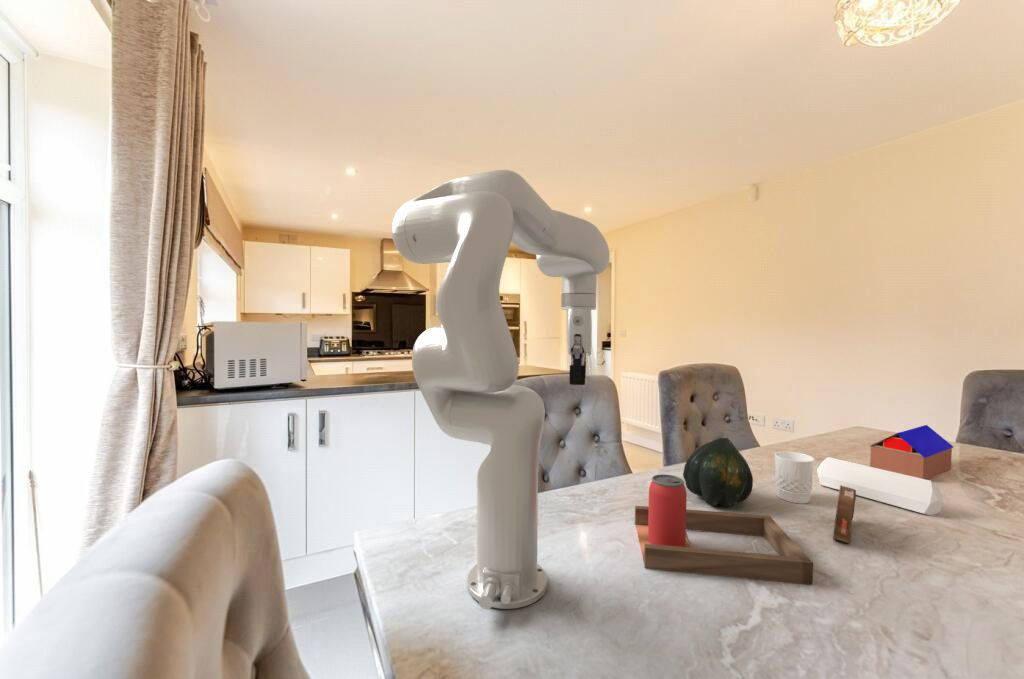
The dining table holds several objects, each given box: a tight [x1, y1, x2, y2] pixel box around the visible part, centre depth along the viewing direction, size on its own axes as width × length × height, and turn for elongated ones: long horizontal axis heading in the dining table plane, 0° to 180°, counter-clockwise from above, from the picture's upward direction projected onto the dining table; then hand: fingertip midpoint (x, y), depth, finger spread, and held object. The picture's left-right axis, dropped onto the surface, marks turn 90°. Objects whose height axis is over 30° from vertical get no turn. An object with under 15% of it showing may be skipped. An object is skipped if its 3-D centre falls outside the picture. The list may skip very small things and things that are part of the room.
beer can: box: [648, 473, 688, 547], centre depth 80 cm, size 7×7×12 cm
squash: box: [682, 437, 754, 507], centre depth 101 cm, size 14×15×15 cm
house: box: [869, 424, 954, 480], centre depth 123 cm, size 12×20×12 cm, turn 119°
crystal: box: [816, 456, 945, 516], centre depth 103 cm, size 7×7×24 cm
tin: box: [832, 485, 857, 544], centre depth 85 cm, size 15×3×8 cm, turn 141°
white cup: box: [774, 450, 816, 505], centre depth 102 cm, size 8×8×10 cm
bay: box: [634, 505, 814, 586], centre depth 79 cm, size 17×26×4 cm, turn 80°
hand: (577, 381), depth 95 cm, fingers open, 9 cm apart
